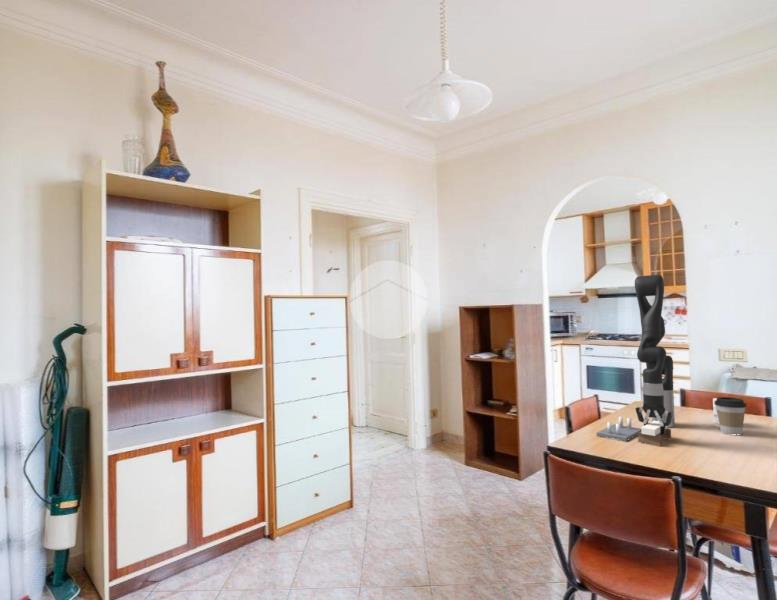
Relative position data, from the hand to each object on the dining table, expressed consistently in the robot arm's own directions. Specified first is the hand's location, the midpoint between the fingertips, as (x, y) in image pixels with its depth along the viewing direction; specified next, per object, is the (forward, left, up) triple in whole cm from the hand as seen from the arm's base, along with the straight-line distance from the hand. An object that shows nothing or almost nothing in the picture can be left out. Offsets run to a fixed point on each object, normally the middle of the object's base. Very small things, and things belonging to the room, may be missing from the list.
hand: (654, 433), depth 184 cm
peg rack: (0, -14, -3) cm, 14 cm away
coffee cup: (-34, +20, -3) cm, 40 cm away
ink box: (-49, +15, -3) cm, 51 cm away
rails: (0, 0, -3) cm, 3 cm away
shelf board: (0, 0, +1) cm, 1 cm away
